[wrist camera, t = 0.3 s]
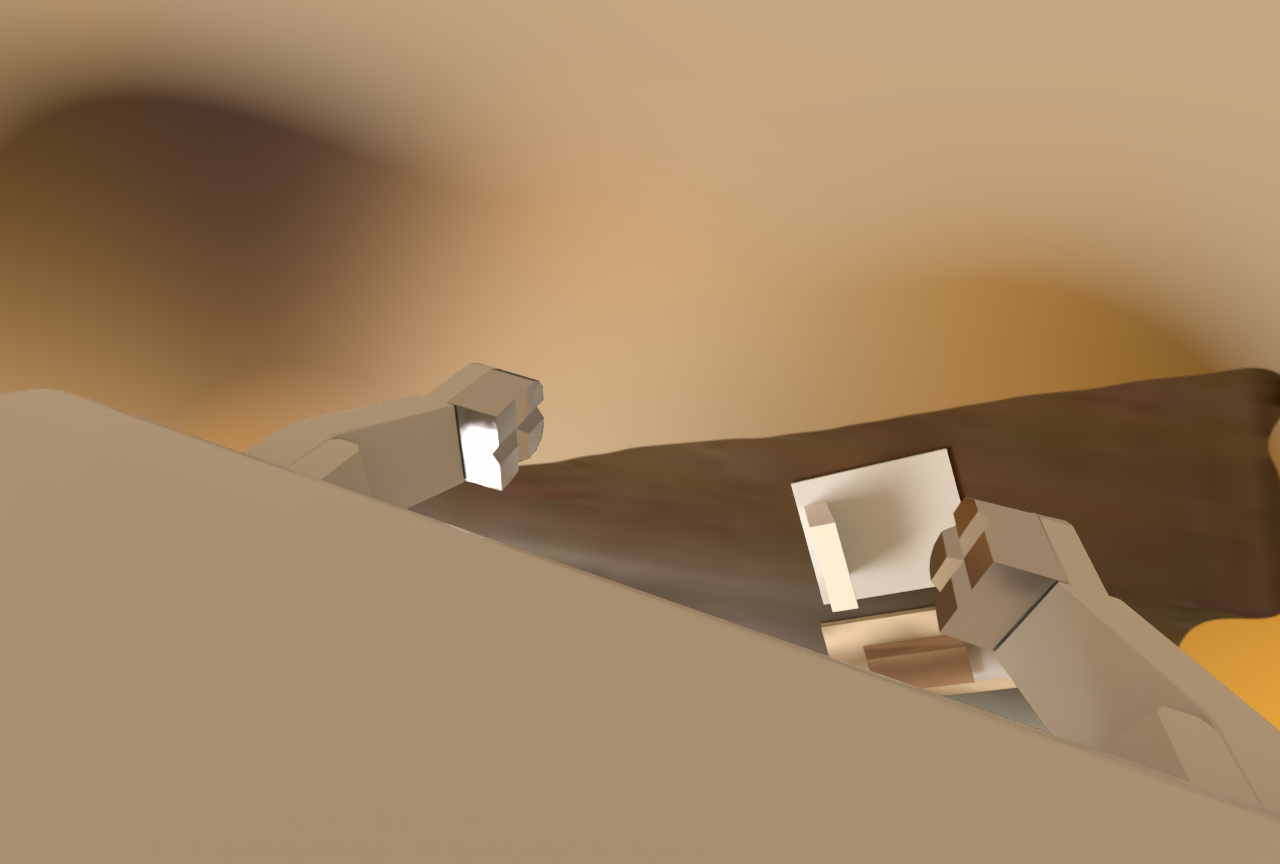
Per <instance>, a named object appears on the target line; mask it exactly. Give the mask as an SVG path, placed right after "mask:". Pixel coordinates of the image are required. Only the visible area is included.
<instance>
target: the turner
mask: <svg viewBox="0 0 1280 864" xmlns="http://www.w3.org/2000/svg"><path fill="white" fill-rule="evenodd" d="M863 649H864V653H865V657H866V660H867V664H868V668H869V670H870V671H872V672H875V673H878V674H881V675H884V676H887V677H890V678H893V679H895V680H898V681H901V682H904V683H907V684H910V685H913V686H916V687H918V688H921V689H922V688H931V687H939V686H948V685H956V684H965V683H974V682H975V681H982V680H990V679H999V678H1008V677H1010V676H1009V675H1008V674H1007V672H1006V671H1005V669H1004V668H1003V667H1002V665H1001V664H1000V662H999V661H998V660H997V658H996V657H995V656H994V654H993V653H994V652H993V651H991V650H988V649H985V648H982V647H979V646H976V645H973V644H971V643H968V642H965V641H962V640H959V639H956V638H953V637H951V636H948V635H941V636H934V637H927V638H920V639H913V640H906V641H898V642H891V643H884V644H877V645H870V646H863Z"/></svg>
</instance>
